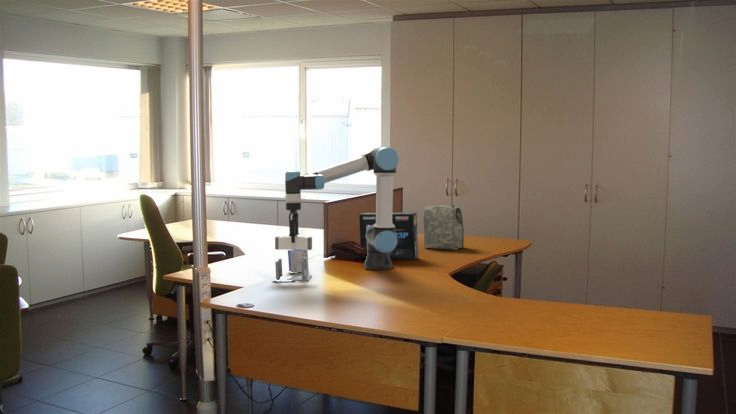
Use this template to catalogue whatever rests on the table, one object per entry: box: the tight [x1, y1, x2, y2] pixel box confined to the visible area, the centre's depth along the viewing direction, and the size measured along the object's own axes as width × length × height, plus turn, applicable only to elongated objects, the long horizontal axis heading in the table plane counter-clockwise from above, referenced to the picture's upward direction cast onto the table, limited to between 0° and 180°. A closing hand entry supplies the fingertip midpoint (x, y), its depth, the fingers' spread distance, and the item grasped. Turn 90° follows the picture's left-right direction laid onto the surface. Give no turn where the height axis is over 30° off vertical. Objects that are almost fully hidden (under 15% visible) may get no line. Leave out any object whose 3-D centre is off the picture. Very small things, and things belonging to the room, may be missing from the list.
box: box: [358, 212, 419, 261], centre depth 396 cm, size 33×8×27 cm, turn 68°
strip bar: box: [274, 235, 313, 251], centre depth 344 cm, size 18×4×6 cm, turn 85°
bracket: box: [274, 258, 312, 282], centre depth 344 cm, size 18×12×10 cm, turn 86°
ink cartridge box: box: [287, 250, 310, 272], centre depth 363 cm, size 10×6×14 cm, turn 114°
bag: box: [422, 204, 465, 251], centre depth 428 cm, size 22×16×27 cm
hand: (294, 248), depth 344 cm, fingers closed on strip bar, 4 cm apart
